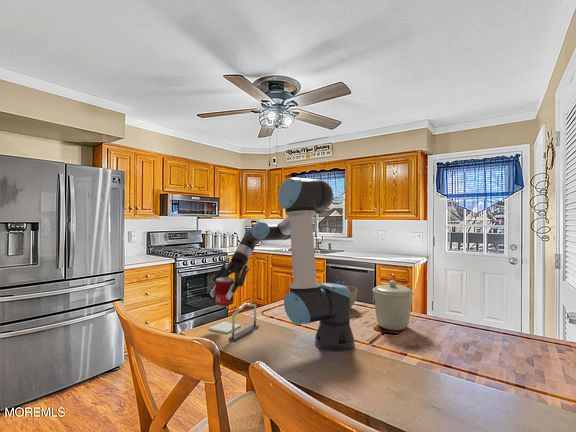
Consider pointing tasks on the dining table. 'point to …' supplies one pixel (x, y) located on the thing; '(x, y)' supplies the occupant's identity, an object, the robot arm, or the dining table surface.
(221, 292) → the canned food
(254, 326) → the metal handle
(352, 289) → the planter bowl
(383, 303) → the canister
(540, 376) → the dining table surface
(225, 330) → the sage mat
